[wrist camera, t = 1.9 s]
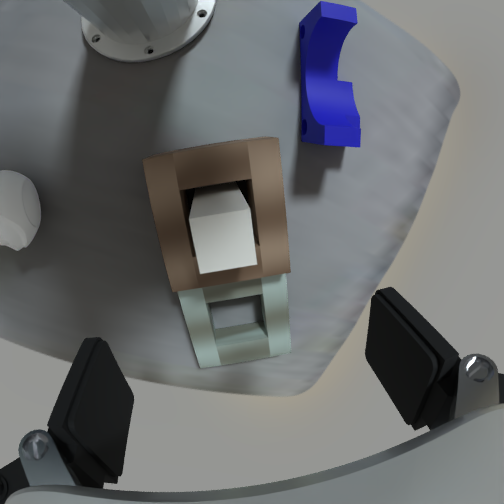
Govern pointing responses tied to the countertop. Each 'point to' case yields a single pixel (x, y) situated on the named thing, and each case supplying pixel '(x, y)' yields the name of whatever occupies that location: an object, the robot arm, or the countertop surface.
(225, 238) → the peg
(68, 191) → the countertop surface
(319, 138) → the blue curved block
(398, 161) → the countertop surface
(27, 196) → the white round lump
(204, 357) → the socket block
